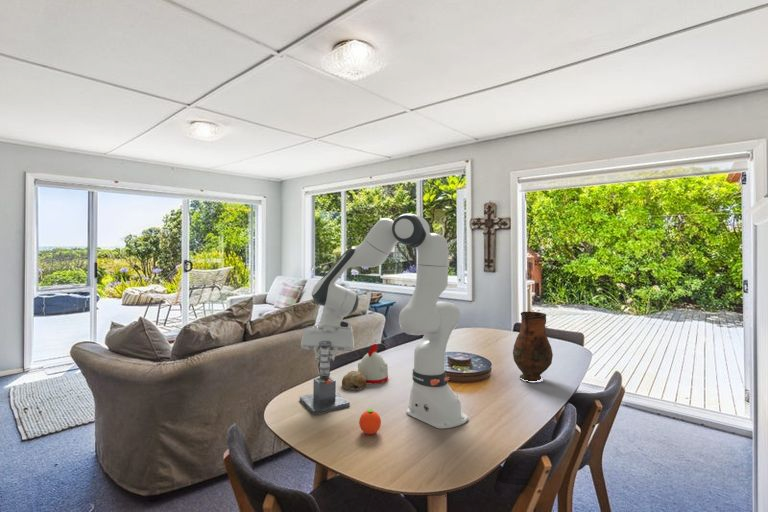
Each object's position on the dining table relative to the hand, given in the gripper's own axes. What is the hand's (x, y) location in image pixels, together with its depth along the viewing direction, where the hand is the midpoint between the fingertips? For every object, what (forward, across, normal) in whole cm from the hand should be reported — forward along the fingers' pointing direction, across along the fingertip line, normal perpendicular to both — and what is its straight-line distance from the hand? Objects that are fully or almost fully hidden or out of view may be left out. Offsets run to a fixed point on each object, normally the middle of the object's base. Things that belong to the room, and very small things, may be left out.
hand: (324, 359), depth 141 cm
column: (+7, 0, +8) cm, 11 cm away
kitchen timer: (-9, +15, +33) cm, 37 cm away
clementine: (+25, +19, -1) cm, 32 cm away
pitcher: (-16, +88, +40) cm, 97 cm away
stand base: (+11, 0, +12) cm, 17 cm away
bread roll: (-2, +8, +26) cm, 27 cm away
